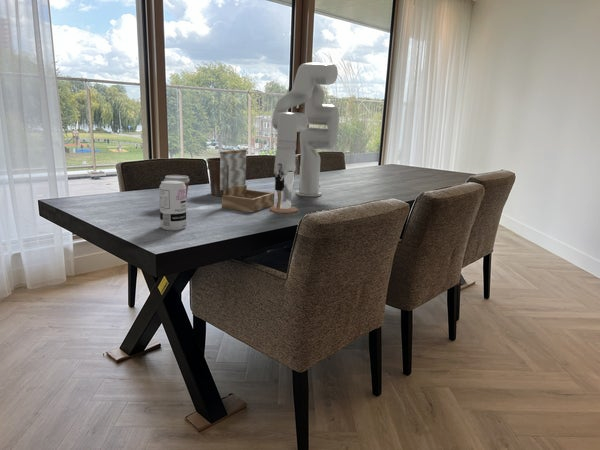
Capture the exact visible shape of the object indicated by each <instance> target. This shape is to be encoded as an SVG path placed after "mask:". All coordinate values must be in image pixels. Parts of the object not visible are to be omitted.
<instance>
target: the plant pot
mask: <svg viewBox="0 0 600 450" xmlns="http://www.w3.org/2000/svg"><path fill="white" fill-rule="evenodd" d="M206 162H207V163H206V164H207V169H208V172H209V181H210V182H209V183H210V185H209V186H210V194H211V195H212V196H216V197H222V195H223V192H224V190H225V189H224V190H220V157H208V158H206ZM237 187H238V186H237ZM233 188H234V187H233Z"/></svg>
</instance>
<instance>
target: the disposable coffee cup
mask: <svg viewBox="0 0 600 450" xmlns="http://www.w3.org/2000/svg"><path fill="white" fill-rule="evenodd" d="M166 180H178V181H183V182H184V184H185V185H186V200H187V197H188V189H189V183H190V178H189V176H188V175H181V174H168V175H165V177H164V179H163V181H166Z"/></svg>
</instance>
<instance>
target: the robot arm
mask: <svg viewBox="0 0 600 450" xmlns="http://www.w3.org/2000/svg"><path fill="white" fill-rule="evenodd" d="M338 73H339V71H338V67H337V65H336V64H335V63H329V62H327V63H326V62H321V63H320V62H305V63H304V62H303V63H302V64H300V65H299V66H298V68H297V71H296V75H295V78H294V81H293V83H292V88H291V90H290V91H289V92H286V93H285V94H284V95H283V96H282V97H281V98H279V100H278V101H277V102H276V104H275V107H274V110H273V113H272V117H271V125H272V127H273V129H275V130H276V133H277V135H276V152H275V158H274V163H273V164H274V167H273V174H274V190H275V191H276V192H277V191H283V181H282V180H283V177H284V175H287V174H288V172H293V171H294V178H295V177H296V176H295V174H296V170H297V165H296V151H297V139H298V138H297V137H298V136H297V135H298V133H299V142H300V143H299V145H300V164H299V165H300V166H299V178H298V179H299V181H298V183H299V184H298V190H295V195H297V196H301V197H310V198H312V197H313V198H315V197H321V196H322V195H323V194H322V192H321V191H319V190H320V189H321V185H320V176H321V175H320V173H321V161H322V160H321V159H322V158H321V155H320V154H319V152H318V151H317V150H328V151H331V150H334V149H336V147H337V143H338V133H339V121H340V120H339V119H340V118H339V117H340V111H339V108H338V106H336V105H334V104H329V103H327V104H326V103H324V102H325V91H324V89H323V88H322V86H321V85H326V86H329V85H333V84H334V83H336V81H337V80H338V79H337V78H338ZM302 104H304V113H303V112H296V111H294V112H293V111H288V110H289V109H292V108H294V107H297V106H300V105H302ZM309 125H312V126H324V127H325V126H326V127H327V128H320V127H308V126H309ZM280 175H281V177H280ZM294 187H295V185H294V186H293V188H294Z"/></svg>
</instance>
